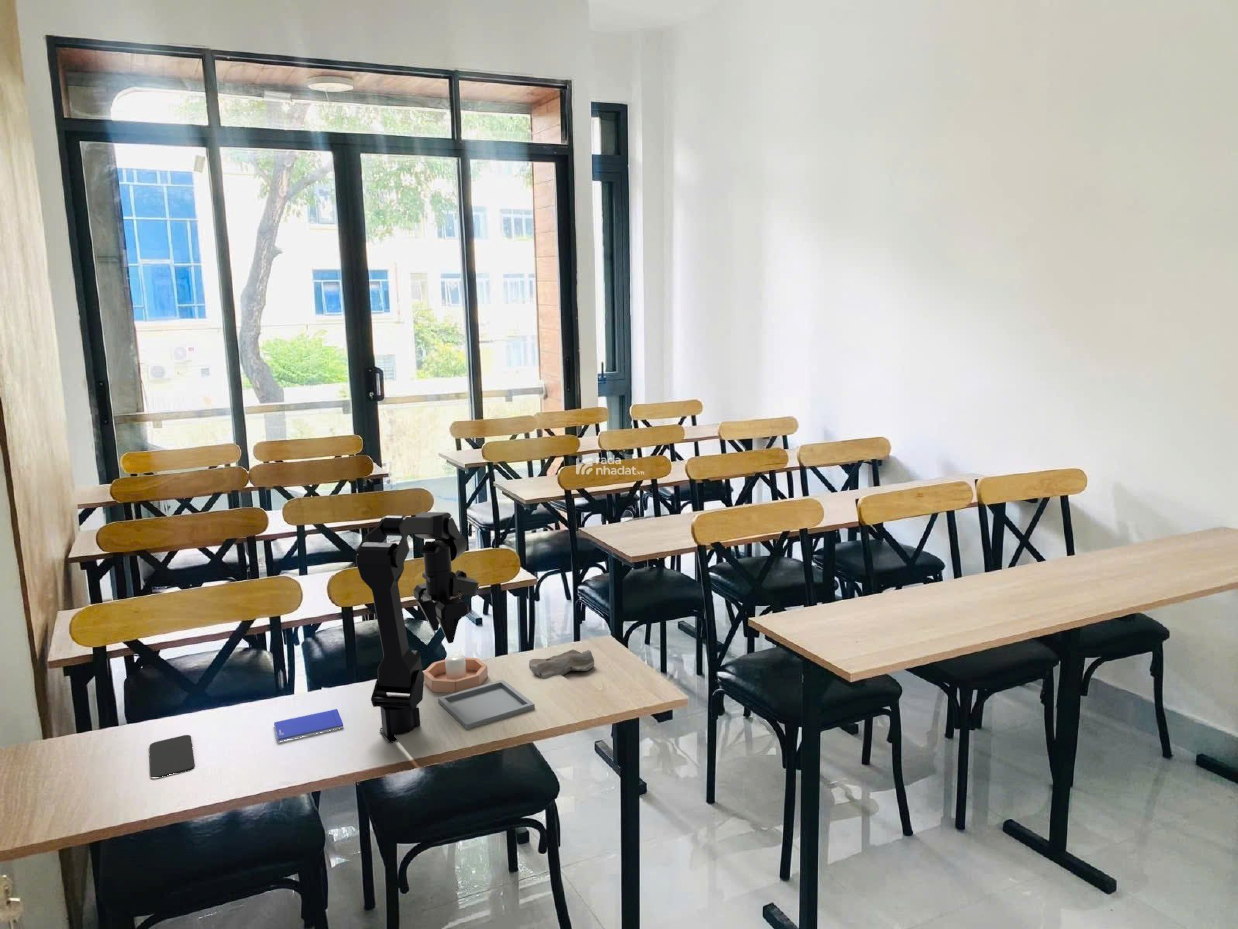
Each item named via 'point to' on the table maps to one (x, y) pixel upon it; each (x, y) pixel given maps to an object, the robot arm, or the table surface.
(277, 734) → the hard drive
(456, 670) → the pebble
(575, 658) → the stone
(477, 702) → the parts tray
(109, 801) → the table surface
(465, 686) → the bowl
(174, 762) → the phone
